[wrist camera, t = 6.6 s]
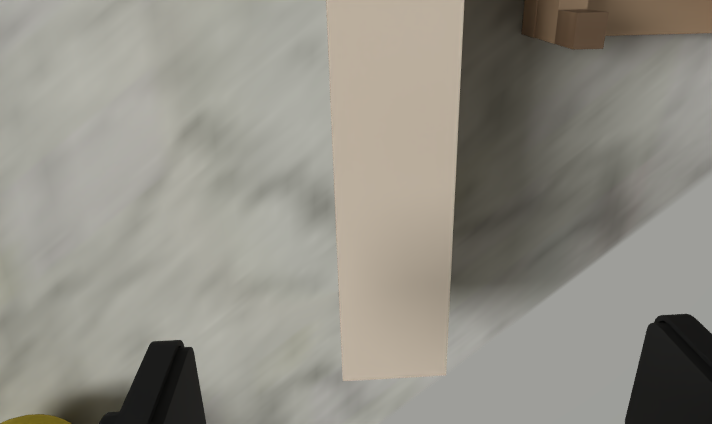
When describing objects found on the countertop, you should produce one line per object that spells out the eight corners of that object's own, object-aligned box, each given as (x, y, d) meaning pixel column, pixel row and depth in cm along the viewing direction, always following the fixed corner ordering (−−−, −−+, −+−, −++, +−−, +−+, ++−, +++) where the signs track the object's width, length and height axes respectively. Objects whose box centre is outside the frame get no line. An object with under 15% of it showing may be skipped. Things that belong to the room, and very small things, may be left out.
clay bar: (322, -71, 19) (322, -90, 13) (426, -74, 19) (468, -94, 13) (338, 288, 24) (342, 381, 19) (418, 284, 24) (445, 375, 19)
